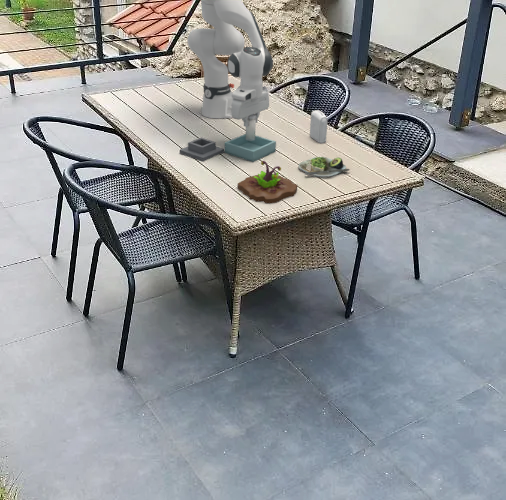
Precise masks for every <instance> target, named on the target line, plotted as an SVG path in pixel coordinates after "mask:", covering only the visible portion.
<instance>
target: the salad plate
mask: <svg viewBox="0 0 506 500" xmlns="http://www.w3.org/2000/svg"><path fill="white" fill-rule="evenodd" d="M310 164H311V165H310ZM297 166H298V167H297V168H298V169H299V170H300V171H301V172H302V173H304V175H306V176H310V177H315V178H316V177H317V178H332V177H335V176H338V175H340V174H343V173H345V172H349V171H350V170H351V169H350V168H347V166H346V164H344V161H343V159H342V158H341V157H334V159H332V158H329V157H325V156H314V157H312V158H309V159H307V160H304V161H301V162H300V163H298V165H297ZM308 166H310V169H311V170H308V169H307V167H308Z"/></svg>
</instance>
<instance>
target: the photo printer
mask: <svg viewBox="0 0 506 500" xmlns="http://www.w3.org/2000/svg"><path fill="white" fill-rule="evenodd" d="M309 124H310V125H309V126H310V127H309V137H311V138H312V139H313V140H315V141H316V142H317V143H320V144H324V143H326V142H327V133H328V132H327V131H328V117H327V116H326V115H325V113H324V112H323V111H321V110H317V109H316V110H312V112H311V113H310V123H309Z"/></svg>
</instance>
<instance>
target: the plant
mask: <svg viewBox="0 0 506 500" xmlns="http://www.w3.org/2000/svg"><path fill="white" fill-rule="evenodd" d="M260 164H261V165H262V166H264V165H265V169H266V170H265V171H263V170H261V171H260V173H257V174H254V175H251V176H248V177H245V179H243V180H241V181H239V182H238V183H237V189H238V191H239V192H241V193H242V194H244V195H245V196H247V197H248V198H249V200H252V201H254V202H262V203H264V204H270V205H271V204H275V203H276V204H277V203H279V202H281V201H282V200H284V199H287V198H291V197H294V196H295V195H296V194H297V191H298V184H295V183H294V182H293V181H292V180H291V179H289V178H285V177H283V176H282V175H279V172H278V171H282V167H281V166H280V165H279V166H278V165H277V166H274V167H273V168H272V169H271V170H270V167H269V165H268V163H267V162H266V161H265V160H262V161H261V162H260ZM276 169H277V170H278V171H277V172H276V171H275V170H276Z"/></svg>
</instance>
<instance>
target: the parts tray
mask: <svg viewBox="0 0 506 500" xmlns="http://www.w3.org/2000/svg"><path fill="white" fill-rule="evenodd" d="M245 137H246V133H245V134H242V135H239V136H237V137H235V138H232V139H229V140H228V141H225V142H224V154H227V155H228V156H229V155H230V156H233V157H236V158H239V159H242V160H246V161H247V162H251V163H254V162H256V161H259V160H261V159H263V158H266V157H268V156H269V155H273V154H274V153H276V152H277V151H276V150H277V149H276V148H277V147H276V146H277V141H275V140H273V139H269V138H265V137H262V136H259V135H256V134H255V140H253V141H248V140H246V139H245Z"/></svg>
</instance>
